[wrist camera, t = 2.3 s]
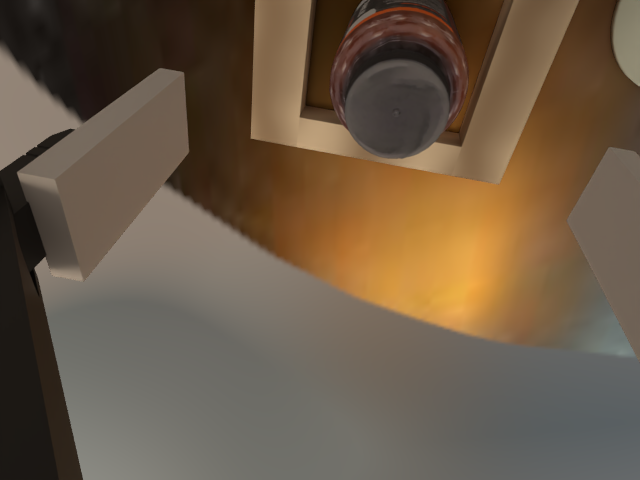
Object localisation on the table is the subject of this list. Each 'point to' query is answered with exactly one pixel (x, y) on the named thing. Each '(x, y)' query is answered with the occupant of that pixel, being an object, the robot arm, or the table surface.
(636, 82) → the cream flat disc
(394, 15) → the supplement bottle
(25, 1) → the table surface
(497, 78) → the oak holder
